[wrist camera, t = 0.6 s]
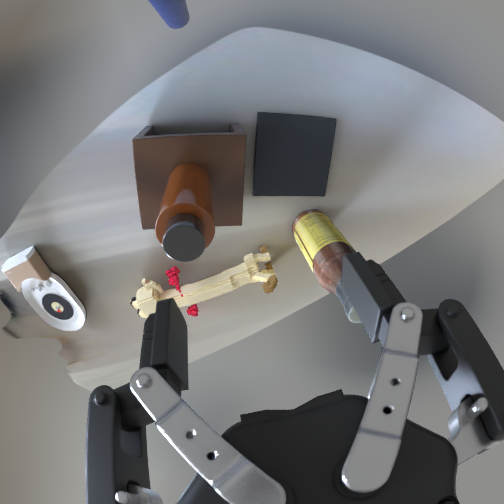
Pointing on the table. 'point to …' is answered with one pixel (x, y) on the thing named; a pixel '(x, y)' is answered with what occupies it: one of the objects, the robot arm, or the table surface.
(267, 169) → the mat
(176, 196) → the spice bottle
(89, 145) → the table surface
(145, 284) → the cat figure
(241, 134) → the brown open box
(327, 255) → the sauce bottle
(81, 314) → the record player
